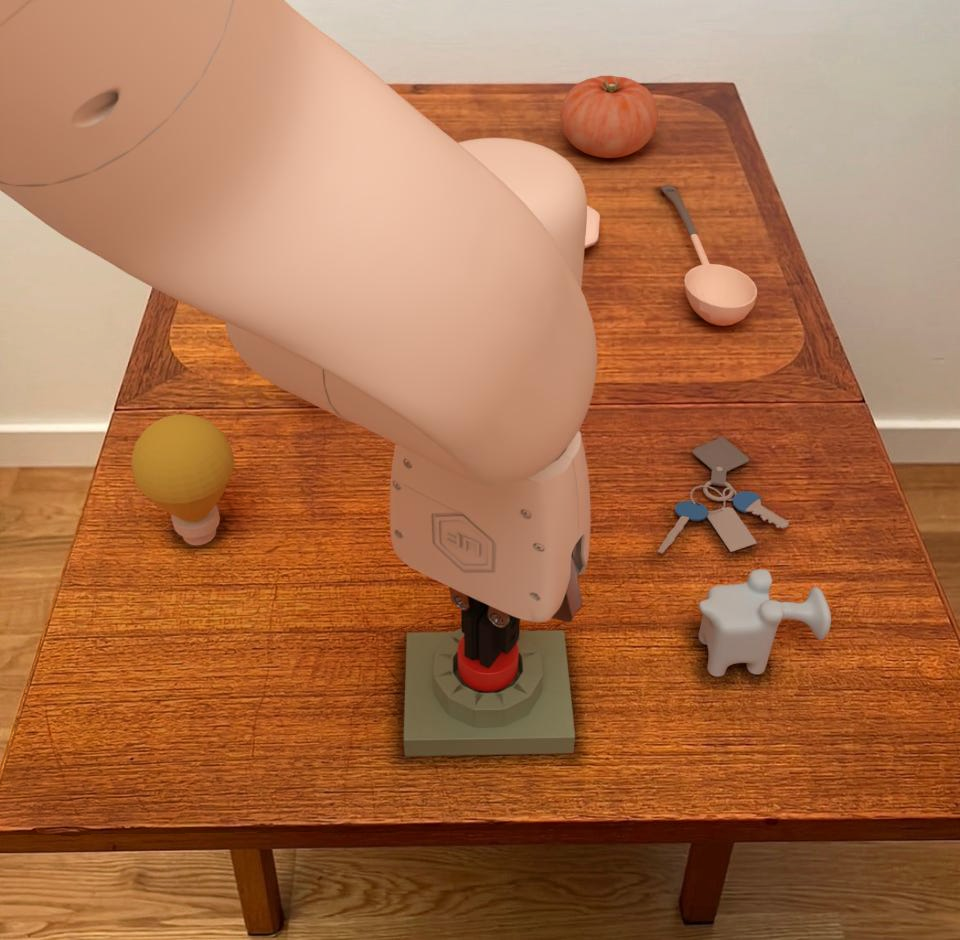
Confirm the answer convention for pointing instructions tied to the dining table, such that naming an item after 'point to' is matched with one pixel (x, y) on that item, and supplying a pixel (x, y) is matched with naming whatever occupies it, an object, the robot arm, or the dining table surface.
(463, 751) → the control block
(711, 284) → the ladle
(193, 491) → the light bulb
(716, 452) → the key chain
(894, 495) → the dining table surface
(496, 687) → the button
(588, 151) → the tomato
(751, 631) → the figurine
